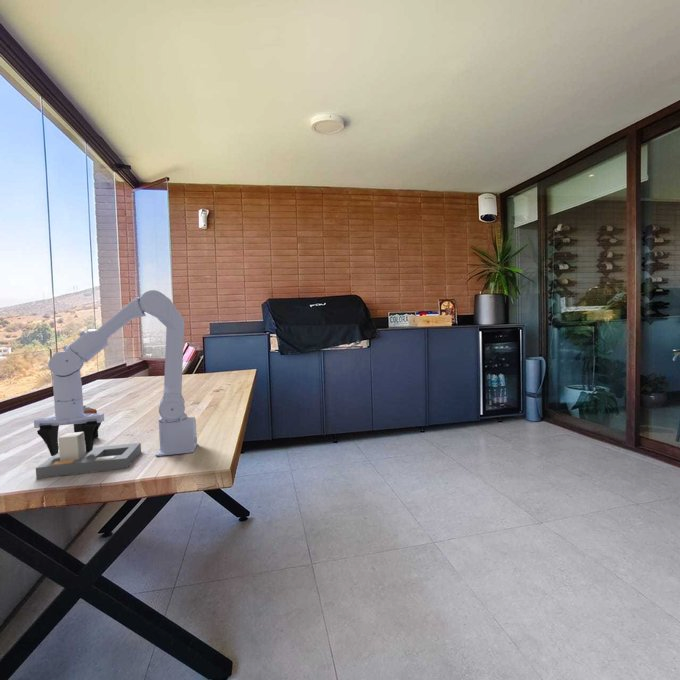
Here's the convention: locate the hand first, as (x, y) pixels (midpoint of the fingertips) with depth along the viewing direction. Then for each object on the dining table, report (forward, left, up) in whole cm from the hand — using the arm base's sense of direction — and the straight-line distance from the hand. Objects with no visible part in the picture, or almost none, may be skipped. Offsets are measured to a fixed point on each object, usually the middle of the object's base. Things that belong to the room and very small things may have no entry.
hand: (72, 452), depth 91 cm
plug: (0, 0, -3) cm, 3 cm away
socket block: (-4, 0, -3) cm, 6 cm away
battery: (+7, -26, -4) cm, 27 cm away
